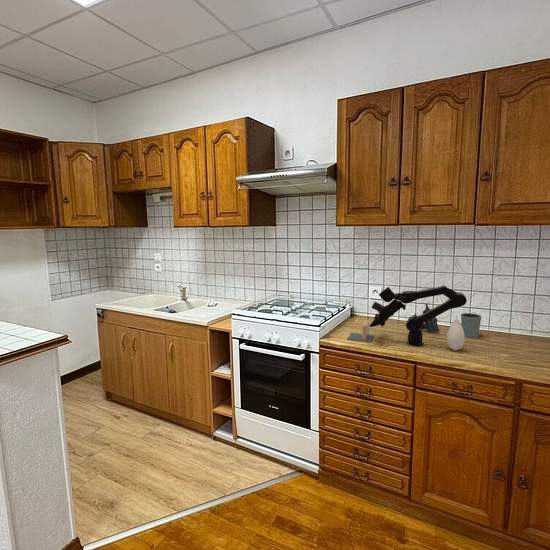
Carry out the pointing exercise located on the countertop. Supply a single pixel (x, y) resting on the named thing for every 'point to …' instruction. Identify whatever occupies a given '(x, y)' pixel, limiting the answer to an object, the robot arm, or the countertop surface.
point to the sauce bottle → (455, 335)
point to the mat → (360, 337)
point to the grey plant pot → (470, 324)
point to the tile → (365, 330)
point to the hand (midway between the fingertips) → (370, 326)
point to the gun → (430, 322)
